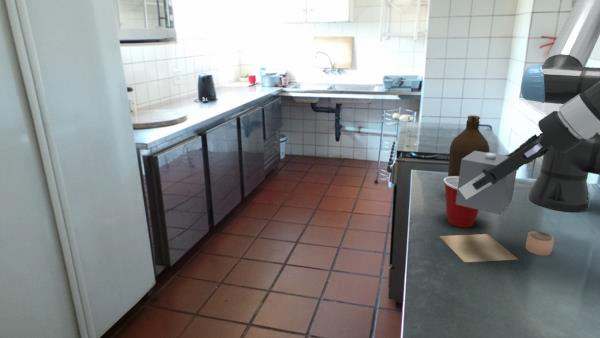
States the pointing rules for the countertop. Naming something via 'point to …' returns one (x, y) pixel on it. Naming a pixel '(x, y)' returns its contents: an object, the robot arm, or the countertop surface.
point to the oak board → (477, 248)
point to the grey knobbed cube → (493, 195)
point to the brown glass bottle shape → (466, 145)
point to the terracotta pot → (539, 243)
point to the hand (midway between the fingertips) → (470, 187)
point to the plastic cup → (455, 212)
